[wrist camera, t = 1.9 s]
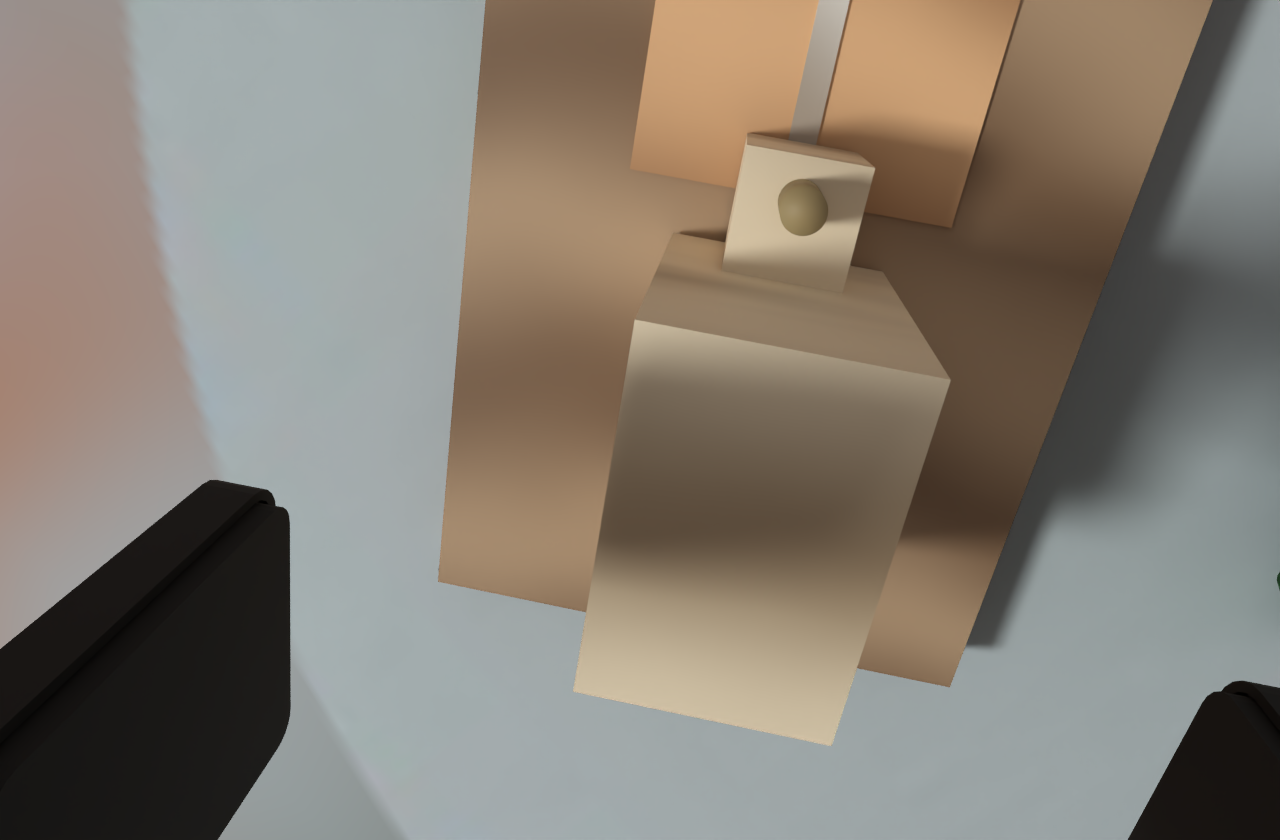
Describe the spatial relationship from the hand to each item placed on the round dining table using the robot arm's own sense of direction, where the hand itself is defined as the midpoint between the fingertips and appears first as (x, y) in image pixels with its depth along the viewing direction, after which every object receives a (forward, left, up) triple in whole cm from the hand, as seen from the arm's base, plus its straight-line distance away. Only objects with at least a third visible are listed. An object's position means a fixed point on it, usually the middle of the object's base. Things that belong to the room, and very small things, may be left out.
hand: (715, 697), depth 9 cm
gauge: (0, 0, -9) cm, 9 cm away
